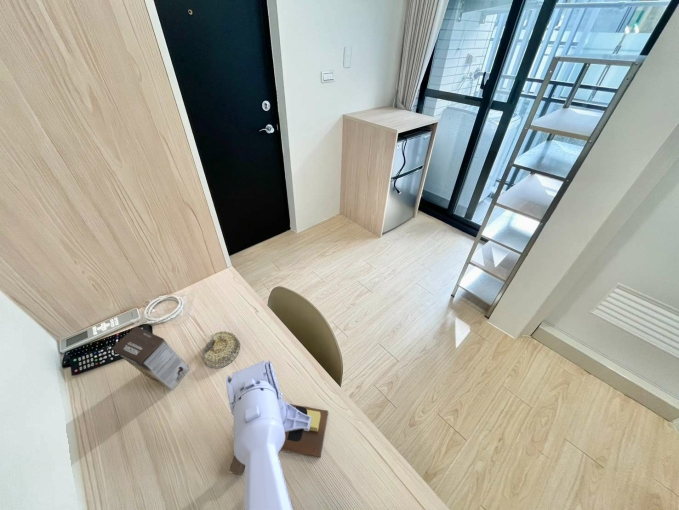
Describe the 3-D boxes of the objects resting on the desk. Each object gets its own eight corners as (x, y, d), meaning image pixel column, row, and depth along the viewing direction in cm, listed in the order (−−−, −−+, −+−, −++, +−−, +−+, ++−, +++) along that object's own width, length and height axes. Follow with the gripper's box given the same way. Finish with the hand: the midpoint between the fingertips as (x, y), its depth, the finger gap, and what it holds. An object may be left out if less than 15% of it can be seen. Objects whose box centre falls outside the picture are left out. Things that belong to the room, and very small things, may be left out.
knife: (242, 475, 56) (238, 473, 54) (233, 473, 56) (228, 471, 54) (267, 398, 67) (264, 394, 64) (259, 397, 67) (256, 392, 65)
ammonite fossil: (242, 333, 80) (239, 324, 76) (238, 367, 73) (234, 358, 69) (207, 336, 79) (202, 326, 75) (199, 370, 72) (193, 361, 68)
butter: (317, 431, 61) (317, 428, 59) (292, 427, 62) (290, 423, 59) (320, 416, 63) (320, 411, 61) (296, 411, 64) (294, 407, 62)
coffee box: (146, 377, 70) (109, 348, 59) (166, 355, 75) (135, 324, 63) (172, 391, 68) (139, 364, 57) (191, 368, 72) (164, 338, 61)
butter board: (320, 457, 58) (320, 456, 58) (263, 446, 60) (262, 445, 59) (328, 412, 65) (328, 410, 64) (276, 402, 66) (275, 401, 65)
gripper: (313, 389, 47) (317, 413, 57) (236, 375, 49) (252, 400, 59) (302, 436, 42) (309, 453, 52) (217, 418, 44) (238, 438, 54)
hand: (278, 428), depth 55 cm, fingers open, 7 cm apart
